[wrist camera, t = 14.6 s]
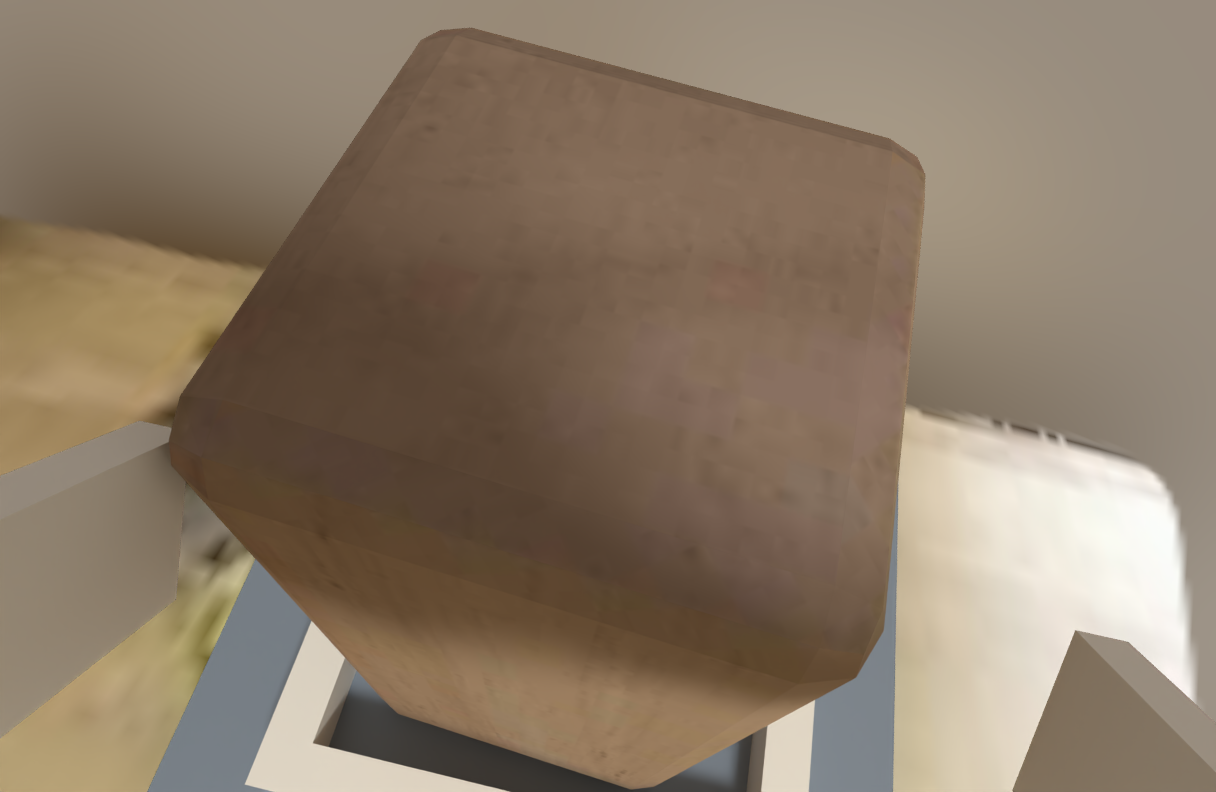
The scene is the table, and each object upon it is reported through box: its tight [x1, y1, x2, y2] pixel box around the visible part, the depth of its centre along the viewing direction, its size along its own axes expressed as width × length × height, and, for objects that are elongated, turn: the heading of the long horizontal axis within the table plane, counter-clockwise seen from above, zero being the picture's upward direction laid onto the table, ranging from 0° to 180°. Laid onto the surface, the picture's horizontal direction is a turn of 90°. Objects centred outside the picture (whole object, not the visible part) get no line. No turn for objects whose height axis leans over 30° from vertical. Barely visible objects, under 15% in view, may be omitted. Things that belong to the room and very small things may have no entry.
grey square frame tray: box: [147, 487, 898, 792], centre depth 29 cm, size 24×20×3 cm
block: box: [169, 28, 925, 789], centre depth 20 cm, size 10×10×20 cm
